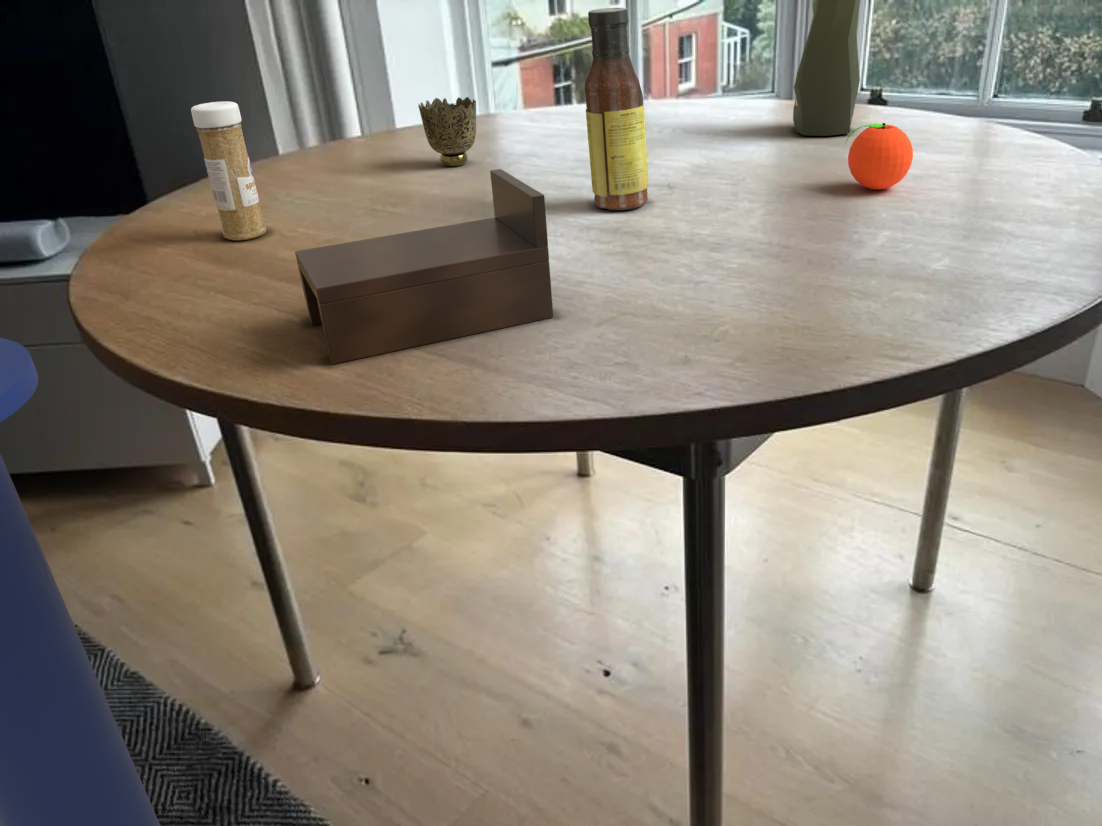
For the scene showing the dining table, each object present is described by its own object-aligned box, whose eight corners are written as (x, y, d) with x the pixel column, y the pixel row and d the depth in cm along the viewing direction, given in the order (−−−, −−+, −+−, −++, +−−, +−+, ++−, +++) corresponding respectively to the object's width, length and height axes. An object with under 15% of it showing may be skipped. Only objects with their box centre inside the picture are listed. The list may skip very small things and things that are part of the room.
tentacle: (846, 122, 136) (867, -118, 121) (864, 140, 125) (889, -120, 110) (783, 124, 136) (796, -114, 121) (796, 143, 126) (811, -116, 111)
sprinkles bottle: (272, 235, 99) (243, 103, 93) (229, 244, 97) (196, 110, 91) (260, 226, 103) (230, 98, 96) (218, 234, 101) (184, 104, 94)
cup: (487, 157, 127) (481, 95, 123) (476, 170, 121) (469, 105, 117) (434, 158, 128) (426, 97, 124) (420, 171, 121) (411, 107, 117)
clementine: (825, 189, 105) (830, 124, 102) (857, 176, 110) (863, 113, 106) (889, 200, 100) (897, 132, 97) (920, 186, 105) (928, 120, 101)
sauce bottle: (657, 199, 105) (654, 5, 95) (633, 214, 100) (628, 12, 90) (606, 194, 108) (598, 5, 98) (580, 209, 103) (569, 12, 93)
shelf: (332, 364, 70) (305, 234, 65) (309, 320, 78) (283, 201, 73) (553, 317, 76) (544, 195, 71) (511, 281, 84) (500, 168, 79)
